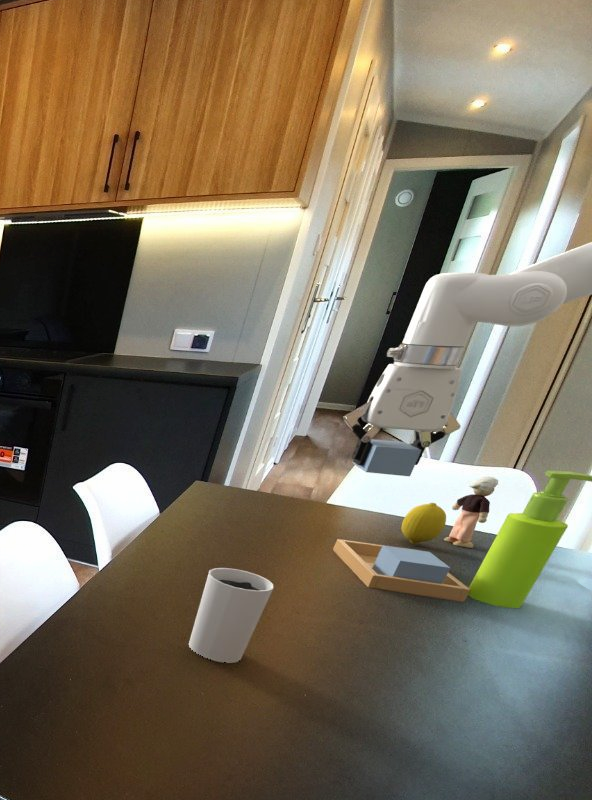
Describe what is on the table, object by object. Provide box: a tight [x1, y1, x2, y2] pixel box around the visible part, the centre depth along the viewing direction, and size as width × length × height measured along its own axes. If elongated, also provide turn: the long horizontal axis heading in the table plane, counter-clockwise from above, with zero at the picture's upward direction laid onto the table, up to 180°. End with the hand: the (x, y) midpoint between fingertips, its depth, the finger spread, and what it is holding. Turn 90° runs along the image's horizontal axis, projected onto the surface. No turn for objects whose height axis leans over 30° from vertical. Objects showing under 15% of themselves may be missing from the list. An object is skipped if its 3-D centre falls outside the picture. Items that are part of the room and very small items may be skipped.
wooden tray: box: [332, 538, 470, 603], centre depth 103 cm, size 12×17×2 cm
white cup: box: [188, 567, 274, 664], centre depth 78 cm, size 7×7×10 cm
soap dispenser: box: [467, 470, 592, 609], centre depth 91 cm, size 6×7×20 cm
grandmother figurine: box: [443, 476, 499, 549], centre depth 116 cm, size 8×4×13 cm, turn 179°
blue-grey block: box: [372, 545, 451, 584], centre depth 99 cm, size 6×7×4 cm
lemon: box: [400, 502, 447, 545], centre depth 116 cm, size 6×6×8 cm
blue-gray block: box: [352, 438, 421, 477], centre depth 110 cm, size 6×7×4 cm
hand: (382, 465), depth 110 cm, fingers closed on blue-gray block, 6 cm apart
